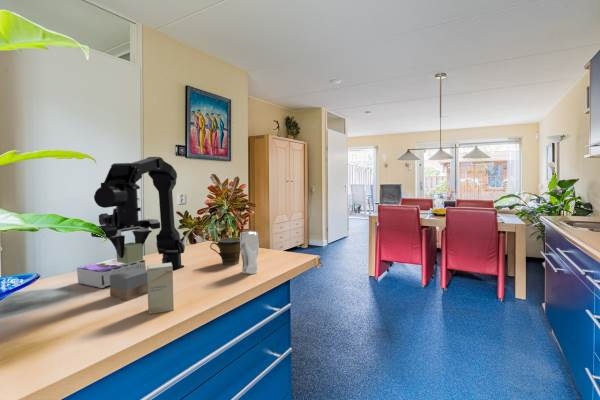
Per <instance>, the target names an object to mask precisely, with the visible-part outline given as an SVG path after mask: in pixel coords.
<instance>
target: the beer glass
mask: <svg viewBox="0 0 600 400" xmlns="http://www.w3.org/2000/svg"><path fill="white" fill-rule="evenodd" d="M239 234H240V235H239V238H240V256H241V259H242V268H241V273H242V274H244V275H254V274H257V273H259V268H258V255H259V249H260V247H259V246H260V243H259V232H258V231H256V230H255V231H254V230H250V231H249V230H248V231H247V230H246V231H241V232H240V233H239Z"/></svg>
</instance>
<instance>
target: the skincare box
mask: <svg viewBox="0 0 600 400" xmlns="http://www.w3.org/2000/svg"><path fill="white" fill-rule="evenodd" d="M146 270H147V282H148V294H147V303H148V305H147V306H148V308H147V309H148V314H149V315H153V314H158V313H165V312H170V311H174V307H175V305H174V275H173V273H174V272H173V271H174V270H173V267H172V263H171V262H170V263H154V264H147V265H146Z"/></svg>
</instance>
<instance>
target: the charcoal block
mask: <svg viewBox="0 0 600 400" xmlns="http://www.w3.org/2000/svg"><path fill="white" fill-rule="evenodd" d="M147 283H148V282H147V269H146V270H143V269H137V268H133V269H129V270H126V271H122V272H119V273H115V274H111V275H110V286H111V287H115V288H120V289H124V290H129V289H132V288H135V287H138V286H141V285H144V284H147ZM110 286H109V287H110Z"/></svg>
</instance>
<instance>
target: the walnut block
mask: <svg viewBox="0 0 600 400" xmlns="http://www.w3.org/2000/svg"><path fill="white" fill-rule="evenodd" d="M109 295H110V298H112V299H117V300H121V301H126V302H129V301H132V300H135V299H138V298H140V297H143V296H145V295H148V283H147V284H144V285H141V286H138V287H135V288H132V289H129V290H124V289H120V288H115V287H111V286H109Z"/></svg>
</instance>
